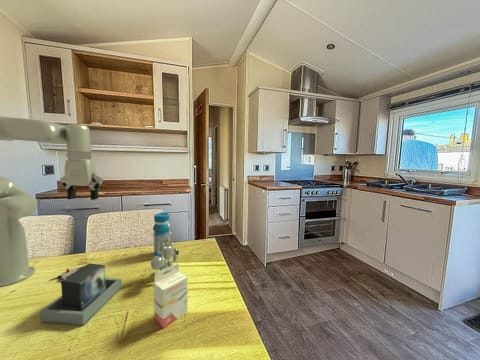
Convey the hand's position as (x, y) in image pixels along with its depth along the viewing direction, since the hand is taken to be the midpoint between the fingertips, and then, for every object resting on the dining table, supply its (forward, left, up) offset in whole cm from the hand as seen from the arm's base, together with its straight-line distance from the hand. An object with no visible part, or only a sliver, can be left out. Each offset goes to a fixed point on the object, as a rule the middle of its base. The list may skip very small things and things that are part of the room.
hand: (83, 199), depth 84 cm
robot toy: (+35, -3, -31) cm, 47 cm away
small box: (+15, -19, -30) cm, 39 cm away
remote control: (-2, -4, -31) cm, 31 cm away
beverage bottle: (+25, +16, -31) cm, 43 cm away
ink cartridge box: (+45, -22, -31) cm, 59 cm away
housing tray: (+15, -19, -30) cm, 39 cm away
